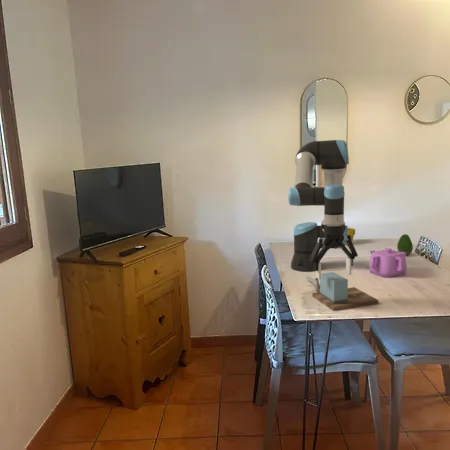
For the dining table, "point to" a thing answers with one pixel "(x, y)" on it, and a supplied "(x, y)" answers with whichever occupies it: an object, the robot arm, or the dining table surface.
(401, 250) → the avocado
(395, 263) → the pink lidded pot
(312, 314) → the dining table surface
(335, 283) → the block
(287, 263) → the dining table surface
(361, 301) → the board
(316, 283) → the caliper
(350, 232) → the plant pot
